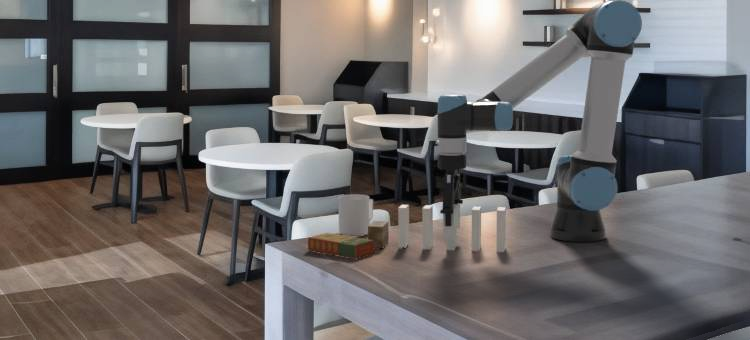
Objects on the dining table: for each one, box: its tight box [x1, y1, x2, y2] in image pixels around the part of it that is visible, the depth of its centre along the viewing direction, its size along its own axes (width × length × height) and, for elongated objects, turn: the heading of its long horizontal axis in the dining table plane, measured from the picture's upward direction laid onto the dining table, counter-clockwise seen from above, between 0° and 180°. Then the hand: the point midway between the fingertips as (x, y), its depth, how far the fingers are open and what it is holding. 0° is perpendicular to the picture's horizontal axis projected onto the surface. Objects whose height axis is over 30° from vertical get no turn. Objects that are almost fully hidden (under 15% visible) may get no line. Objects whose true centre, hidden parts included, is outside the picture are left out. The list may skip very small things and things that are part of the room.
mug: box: [337, 193, 374, 236], centre depth 250 cm, size 12×9×11 cm
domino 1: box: [397, 204, 410, 249], centre depth 233 cm, size 2×5×11 cm, turn 168°
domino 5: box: [496, 206, 507, 253], centre depth 227 cm, size 2×5×11 cm, turn 168°
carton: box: [307, 232, 375, 260], centre depth 227 cm, size 8×16×4 cm, turn 53°
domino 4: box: [471, 206, 482, 252], centre depth 229 cm, size 2×5×11 cm, turn 168°
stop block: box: [367, 220, 390, 249], centre depth 234 cm, size 4×8×6 cm, turn 168°
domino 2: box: [421, 204, 434, 250], centre depth 231 cm, size 2×5×11 cm, turn 168°
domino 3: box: [446, 206, 458, 251], centre depth 230 cm, size 2×5×11 cm, turn 168°
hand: (451, 232), depth 230 cm, fingers open, 13 cm apart
